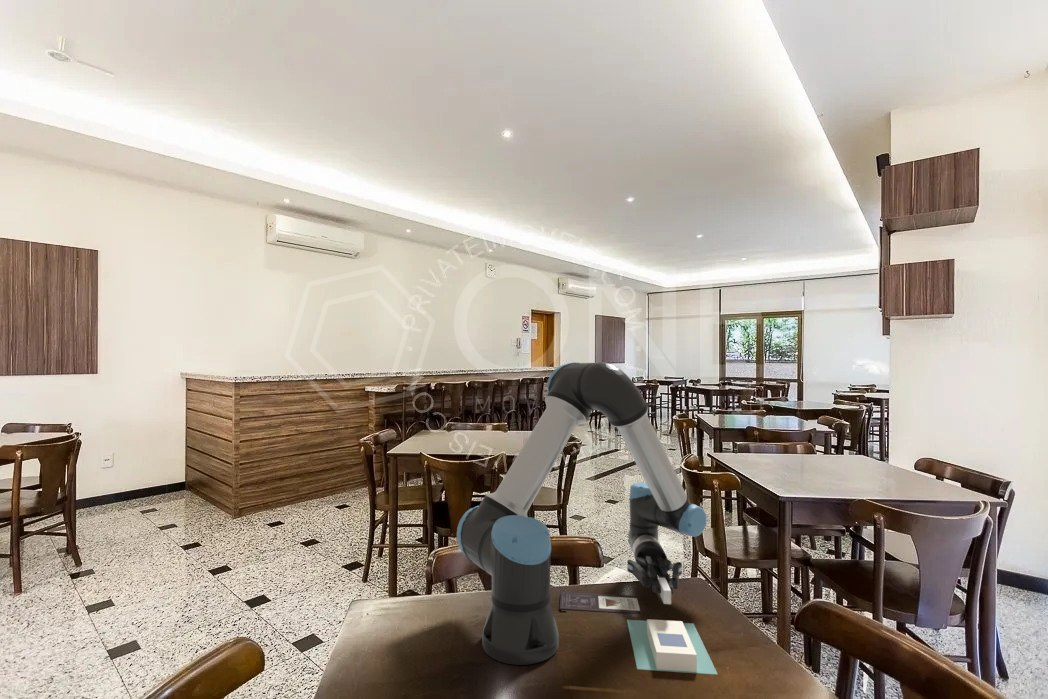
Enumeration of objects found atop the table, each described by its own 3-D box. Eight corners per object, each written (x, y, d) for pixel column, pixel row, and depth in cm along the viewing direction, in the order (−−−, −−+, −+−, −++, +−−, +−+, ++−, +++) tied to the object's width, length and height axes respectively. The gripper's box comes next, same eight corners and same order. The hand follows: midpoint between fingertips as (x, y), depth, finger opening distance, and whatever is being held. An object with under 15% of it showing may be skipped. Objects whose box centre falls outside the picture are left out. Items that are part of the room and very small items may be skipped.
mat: (637, 671, 89) (637, 669, 89) (626, 621, 106) (626, 619, 106) (717, 676, 87) (717, 674, 87) (693, 625, 105) (693, 623, 105)
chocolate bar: (560, 591, 120) (636, 595, 118) (560, 595, 120) (636, 599, 118) (559, 608, 111) (640, 613, 109) (559, 612, 111) (640, 618, 109)
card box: (647, 634, 100) (656, 669, 88) (647, 619, 101) (656, 652, 89) (682, 636, 100) (696, 672, 88) (682, 621, 100) (696, 654, 88)
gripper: (676, 571, 123) (700, 617, 100) (623, 569, 125) (635, 614, 101) (675, 541, 124) (700, 580, 100) (623, 539, 125) (635, 577, 102)
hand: (667, 597), depth 101 cm, fingers closed
